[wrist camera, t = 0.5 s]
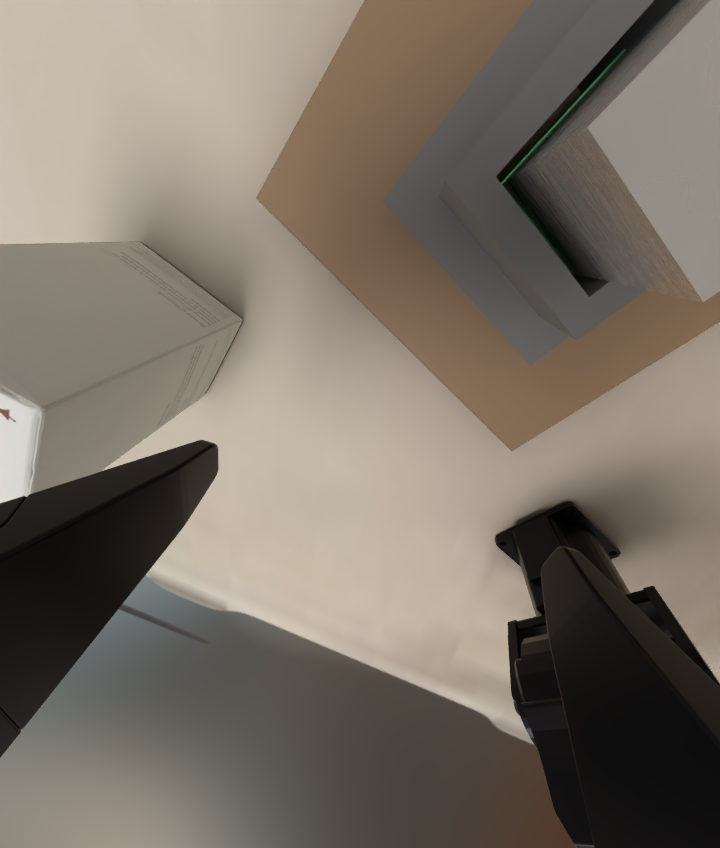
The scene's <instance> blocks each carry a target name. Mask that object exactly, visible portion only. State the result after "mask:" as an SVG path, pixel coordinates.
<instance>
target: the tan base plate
mask: <svg viewBox="0 0 720 848" xmlns="http://www.w3.org/2000/svg"><path fill="white" fill-rule="evenodd" d="M678 1H680V0H365V1H364V3H363V4H362V6H361V8H360V10H359V12H358V14H357V15H356V17H355V19H354V21H353V23H352V24H351V26H350V28H349V30H348V32H347V34H346V35H345V37H344V39H343V41H342V43H341V45H340V46H339V48H338V50H337V52H336V54H335V55H334V57H333V59H332V61H331V63H330V65H329V66H328V68H327V70H326V72H325V74H324V75H323V77H322V79H321V81H320V83H319V85H318V86H317V88H316V90H315V92H314V94H313V96H312V97H311V99H310V101H309V103H308V105H307V106H306V108H305V110H304V112H303V114H302V116H301V117H300V119H299V121H298V123H297V125H296V126H295V128H294V130H293V132H292V134H291V136H290V137H289V139H288V141H287V143H286V145H285V147H284V148H283V150H282V152H281V154H280V156H279V157H278V159H277V161H276V163H275V165H274V167H273V168H272V170H271V172H270V174H269V176H268V177H267V179H266V181H265V183H264V185H263V187H262V188H261V190H260V192H259V194H258V196H257V197H256V199H257V200H258V201H259V202H260V203H261V204H262V205H263V206H264V207H265V208H266V209H267V210H268V211H269V212H270V213H271V214H272V215H273V216H274V217H276V218H277V219H278V220H279V221H280V222H281V223H282V224H283V225H284V226H285V227H286V228H287V229H288V230H289V231H290V232H291V233H292V234H293V235H294V236H295V237H296V238H297V239H298V240H299V241H300V242H301V243H302V244H303V245H304V246H305V247H306V248H307V249H308V250H309V251H310V252H311V253H312V254H313V255H314V256H315V257H316V258H317V259H318V260H319V261H320V262H321V263H322V264H323V265H324V266H325V267H326V268H327V269H328V270H329V271H330V272H331V273H332V274H333V275H334V276H335V277H336V278H337V279H338V280H339V281H340V282H341V283H342V284H343V285H344V286H345V287H346V288H347V289H348V290H349V291H350V292H351V293H352V294H353V295H354V296H355V297H356V298H357V299H358V300H359V301H360V302H361V303H362V304H363V305H364V306H365V307H366V308H367V309H368V310H369V311H370V312H371V313H372V314H374V315H375V316H376V317H377V318H378V319H379V320H380V321H381V322H382V323H383V324H384V325H385V326H386V327H387V328H388V329H389V330H390V331H391V332H392V333H393V334H394V335H395V336H396V337H397V338H398V339H399V340H400V341H401V342H402V343H403V344H404V345H405V346H406V347H407V348H408V349H409V350H410V351H411V352H412V353H413V354H414V355H415V356H416V357H417V358H418V359H419V360H420V361H421V362H422V363H423V364H424V365H425V366H426V367H427V368H428V369H429V370H430V371H431V372H432V373H433V374H434V375H435V376H436V377H437V378H438V379H439V380H440V381H441V382H442V383H443V384H444V385H445V386H446V387H447V388H448V389H449V390H450V391H451V392H452V393H453V394H454V395H455V396H456V397H457V398H458V399H459V400H460V401H461V402H462V403H463V404H464V405H465V406H466V407H467V408H468V409H469V410H471V411H472V412H473V413H474V414H475V415H476V416H477V417H478V418H479V419H480V420H481V421H482V422H483V423H484V424H485V425H486V426H487V427H488V428H489V429H490V430H491V431H492V432H493V433H494V434H495V435H496V436H497V437H498V438H499V439H500V440H501V441H502V442H503V443H504V444H505V445H506V446H507V447H508V448H509V449H510V450H511V451H513V450H514V449H516V448H518V447H519V446H521V445H522V444H524V443H526V442H527V441H529V440H530V439H532V438H534V437H535V436H537V435H538V434H540V433H542V432H543V431H545V430H546V429H548V428H550V427H551V426H553V425H554V424H556V423H558V422H559V421H561V420H562V419H564V418H566V417H567V416H569V415H570V414H572V413H574V412H575V411H577V410H579V409H580V408H582V407H583V406H585V405H587V404H588V403H590V402H591V401H593V400H595V399H596V398H598V397H599V396H601V395H603V394H604V393H606V392H607V391H609V390H611V389H612V388H614V387H615V386H617V385H619V384H620V383H622V382H623V381H625V380H627V379H628V378H630V377H631V376H633V375H635V374H636V373H638V372H639V371H641V370H643V369H644V368H646V367H648V366H649V365H651V364H652V363H654V362H656V361H657V360H659V359H660V358H662V357H664V356H665V355H667V354H668V353H670V352H672V351H673V350H675V349H676V348H678V347H680V346H681V345H683V344H684V343H686V342H688V341H689V340H691V339H692V338H694V337H696V336H697V335H699V334H700V333H702V332H704V331H705V330H707V329H708V328H710V327H712V326H713V325H715V324H717V323H718V322H720V291H719V292H718V293H716V294H715V295H713V296H712V297H710V298H709V299H707V300H706V301H704V302H700V301H696V300H691V299H687V298H682V297H678V296H673V295H669V294H664V293H659V292H655V291H650V290H646V289H641V288H637V287H632V286H628V285H623V284H619V283H614V282H609V281H605V280H600V279H596V278H591V277H587V276H582V275H578V274H573V273H570V272H569V270H568V269H567V268H566V267H565V265H564V264H563V263H562V261H561V260H560V259H559V258H558V256H557V255H556V254H555V252H554V251H553V250H552V249H551V247H550V246H549V245H548V243H547V242H546V241H545V240H544V238H543V237H542V236H541V234H540V233H539V232H538V231H537V229H536V228H535V227H534V225H533V224H532V223H531V221H530V220H529V219H528V218H527V216H526V215H525V214H524V212H523V211H522V210H521V209H520V207H519V206H518V205H517V203H516V202H515V201H514V200H513V198H512V197H511V196H510V194H509V193H508V192H507V191H506V189H505V188H504V187H503V185H502V184H501V183H500V182H499V179H500V178H501V177H502V176H503V175H504V174H505V173H506V171H507V170H508V169H509V168H510V167H511V166H512V165H513V164H514V163H515V162H516V160H517V159H518V158H519V157H520V156H521V155H522V154H523V153H524V152H525V151H526V149H527V148H528V147H529V146H530V145H531V144H532V143H533V142H534V141H535V140H536V138H537V137H538V136H539V135H540V134H541V133H542V132H543V131H544V130H545V129H546V127H547V126H548V125H549V124H550V123H551V122H552V121H553V120H554V119H555V118H556V116H557V115H558V114H559V113H560V112H561V111H562V110H563V109H564V108H565V107H566V105H567V104H568V103H569V102H570V101H571V100H572V99H573V98H574V97H575V96H576V95H577V94H578V93H579V92H580V91H582V90H583V89H584V88H585V87H586V86H587V85H588V84H589V83H590V82H591V81H592V80H593V79H594V78H595V77H596V76H597V75H598V74H599V73H600V72H601V71H602V69H603V68H604V67H605V66H606V65H607V64H608V63H609V62H610V61H611V60H612V59H614V58H615V57H616V56H617V55H618V54H619V53H620V52H621V51H622V50H623V49H624V48H625V49H627V48H628V47H629V46H631V45H632V44H633V43H634V42H635V41H636V40H637V39H638V38H639V37H640V36H641V35H643V34H644V33H645V32H646V31H647V30H648V29H649V28H650V27H651V26H652V25H653V24H655V23H656V22H657V21H658V20H659V19H660V18H661V17H662V16H663V15H664V14H665V13H666V12H668V11H669V10H670V9H671V8H672V7H673V6H674V5H675V4H676V3H677V2H678Z"/></svg>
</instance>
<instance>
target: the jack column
mask: <svg viewBox="0 0 720 848" xmlns="http://www.w3.org/2000/svg"><path fill="white" fill-rule="evenodd" d="M499 182H500V183H501V184H502V185H503V187H504V188H505V189H506V191H507V192H508V193H509V194H510V196H511V197H512V198H513V200H514V201H515V202H516V203H517V205H518V206H519V207H520V209H521V210H522V211H523V212H524V214H525V215H526V216H527V218H528V219H529V220H530V221H531V223H532V224H533V225H534V227H535V228H536V229H537V231H538V232H539V233H540V234H541V236H542V237H543V238H544V240H545V241H546V242H547V243H548V245H549V246H550V247H551V249H552V250H553V251H554V252H555V254H556V255H557V256H558V258H559V259H560V260H561V261H562V263H563V264H564V265H565V267H566V268H567V269H568V270H569V272H570V273H573V274H578V275H582V276H587V277H591V278H596V279H600V280H605V281H609V282H614V283H619V284H623V285H628V286H632V287H637V288H641V289H646V290H650V291H655V292H659V293H664V294H669V295H673V296H678V297H682V298H687V299H691V300H696V301H700V302H704V301H706V300H707V299H709V298H710V297H712V296H713V295H715V294H716V293H718V292H719V291H720V0H680V1H678V2H677V3H676V4H675V5H674V6H673V7H672V8H671V9H670V10H669V11H668V12H666V13H665V14H664V15H663V16H662V17H661V18H660V19H659V20H658V21H657V22H656V23H655V24H653V25H652V26H651V27H650V28H649V29H648V30H647V31H646V32H645V33H644V34H643V35H641V36H640V37H639V38H638V39H637V40H636V41H635V42H634V43H633V44H632V45H631V46H629V47H628V48H627V49H625V48H624V49H623V50H622V51H621V52H620V53H619V54H618V55H617V56H616V57H615V58H614V59H612V60H611V61H610V62H609V63H608V64H607V65H606V66H605V67H604V68H603V69H602V71H601V72H600V73H599V74H598V75H597V76H596V77H595V78H594V79H593V80H592V81H591V82H590V83H589V84H588V85H587V86H586V87H585V88H584V89H583V90H582V91H580V92H579V93H578V94H577V95H576V96H575V97H574V98H573V99H572V100H571V101H570V102H569V103H568V104H567V105H566V107H565V108H564V109H563V110H562V111H561V112H560V113H559V114H558V115H557V116H556V118H555V119H554V120H553V121H552V122H551V123H550V124H549V125H548V126H547V127H546V129H545V130H544V131H543V132H542V133H541V134H540V135H539V136H538V137H537V138H536V140H535V141H534V142H533V143H532V144H531V145H530V146H529V147H528V148H527V149H526V151H525V152H524V153H523V154H522V155H521V156H520V157H519V158H518V159H517V160H516V162H515V163H514V164H513V165H512V166H511V167H510V168H509V169H508V170H507V171H506V173H505V174H504V175H503V176H502V177H501V178H500V179H499Z"/></svg>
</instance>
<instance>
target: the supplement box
mask: <svg viewBox="0 0 720 848" xmlns="http://www.w3.org/2000/svg"><path fill="white" fill-rule="evenodd" d="M241 324H242V319H241V318H240V317H239V316H237V315H236V314H235V313H233V312H232V311H231V310H230V309H228V308H227V307H226V306H224V305H223V304H222V303H221V302H219V301H218V300H216V299H215V298H214V297H212V296H211V295H210V294H209V293H207V292H206V291H205V290H203V289H202V288H201V287H199V286H198V285H197V284H195V283H194V282H193V281H192V280H190V279H189V278H188V277H186V276H185V275H184V274H182V273H181V272H180V271H178V270H177V269H176V268H174V267H173V266H172V265H171V264H169V263H168V262H166V261H165V260H164V259H162V258H161V257H160V256H159V255H157V254H156V253H155V252H153V251H152V250H150V249H149V248H148V247H146V246H145V245H143V244H142V243H140V242H90V243H46V244H0V503H3V502H6V501H9V500H12V499H16V498H19V497H22V496H26V497H27V496H28V495H29V494H32V493H35V492H38V491H41V490H44V489H47V488H50V487H54V486H57V485H60V484H63V483H66V482H69V481H73V480H76V479H79V478H82V477H85V476H88V475H92V474H95V473H98V472H100V471H102V470H103V469H104V468H106V467H107V466H108V465H110V464H111V463H112V462H114V461H115V460H117V459H118V458H119V457H121V456H122V455H123V454H125V453H126V452H127V451H129V450H130V449H131V448H133V447H134V446H136V445H137V444H138V443H140V442H141V441H142V440H144V439H145V438H146V437H148V436H149V435H151V434H152V433H153V432H155V431H156V430H157V429H159V428H160V427H162V426H163V425H164V424H166V423H167V422H168V421H170V420H171V419H172V418H174V417H175V416H176V415H178V414H179V413H181V412H182V411H184V410H185V409H186V408H188V407H189V406H191V405H192V404H193V403H195V402H196V401H198V400H199V399H200V398H202V397H203V396H204V395H205V393H206V391H207V389H208V387H209V386H210V384H211V382H212V380H213V378H214V376H215V374H216V372H217V370H218V368H219V366H220V364H221V362H222V361H223V359H224V357H225V355H226V353H227V351H228V349H229V347H230V345H231V343H232V341H233V339H234V337H235V335H236V333H237V331H238V329H239V327H240V325H241Z"/></svg>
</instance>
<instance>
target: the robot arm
mask: <svg viewBox="0 0 720 848" xmlns="http://www.w3.org/2000/svg"><path fill="white" fill-rule="evenodd" d="M217 472H218V447H217V445H216V444H214V443H211V442H208V441H204V440H199V441H196V442H193V443H189V444H186V445H183V446H180V447H177V448H174V449H170V450H167V451H164V452H161V453H158V454H155V455H152V456H148V457H145V458H142V459H139V460H136V461H133V462H129V463H126V464H123V465H120V466H117V467H114V468H111V469H107V470H104V471H101V472H98V473H95V474H92V475H88V476H85V477H82V478H79V479H76V480H73V481H69V482H66V483H63V484H60V485H57V486H54V487H50V488H47V489H44V490H41V491H38V492H35V493H32V494H29V495H28V496H27V497H26V496H22V497H19V498H16V499H12V500H9V501H6V502H3V503H0V757H1V756H2V755H3V754H4V752H5V751H6V750H7V749H8V747H9V746H10V745H11V744H12V742H13V741H14V740H15V739H16V737H17V736H18V735H19V734H20V732H21V729H22V728H24V727H25V726H26V724H27V723H28V722H29V720H30V719H31V718H32V717H33V716H34V714H35V713H36V712H37V711H38V709H39V708H40V707H41V705H42V704H43V703H44V702H45V700H46V699H47V698H48V697H49V695H50V694H51V693H52V692H53V690H54V689H55V688H56V687H57V685H58V684H59V683H60V682H61V680H62V679H63V678H64V677H65V675H66V674H67V673H68V671H69V670H70V669H71V668H72V667H73V665H74V664H75V663H76V661H77V660H78V659H79V657H80V656H81V655H82V654H83V653H84V651H85V650H86V649H87V648H88V646H89V645H90V644H91V643H92V641H93V640H94V639H95V638H96V636H97V635H98V634H99V633H100V631H101V630H102V629H103V628H104V626H105V625H106V624H107V623H108V621H109V620H110V619H111V617H112V616H113V615H114V614H115V612H116V611H117V610H118V609H119V607H120V606H121V605H122V604H123V602H124V601H125V600H126V598H127V597H128V596H129V595H130V594H131V592H132V591H133V590H134V589H135V587H136V586H137V585H138V584H139V582H140V581H141V580H142V578H143V577H144V576H145V575H146V573H147V572H148V571H149V570H150V568H151V567H152V566H153V565H154V563H155V562H156V561H157V560H158V558H159V557H160V556H161V555H162V553H163V552H164V551H165V550H166V548H167V547H168V546H169V545H170V543H171V542H172V541H173V540H174V538H175V537H176V536H177V535H178V533H179V532H180V531H181V529H182V528H183V527H184V525H185V524H186V522H187V521H188V519H189V518H190V516H191V515H192V513H193V512H194V510H195V509H196V507H197V505H198V504H199V502H200V501H201V499H202V498H203V496H204V494H205V493H206V491H207V490H208V488H209V487H210V485H211V483H212V482H213V480H214V479H215V477H216V475H217ZM568 509H570V510H568ZM502 541H503V542H502ZM495 542H496V545H497V546H498V547H499V548H500V549H501V550H502V551H503V552H505V553H506V554H507V555H508V556H509V557H510V558H511V559H513V560H514V561H515V562H516V563H517V564H518V565H520V566H521V569H522V572H523V575H524V578H525V581H526V585H527V588H528V591H529V594H530V597H531V601H532V604H533V607H534V610H535V614H536V617H533V618H529V619H525V620H521V621H516V620H514V621H510V622H508V645H509V662H510V678H511V693H512V697H513V699H514V706H515V709H516V712H517V713H518V714H519V715H520V717H521V719H522V721H523V724H524V726H525V728H526V730H527V732H528V734H529V736H530V738H531V740H532V741H533V743H534V744H535V746H536V747H537V748H538V751H539V754H540V757H541V761H542V764H543V768H544V772H545V775H546V779H547V783H548V787H549V791H550V795H551V798H552V802H553V806H554V809H555V812H556V814H557V816H558V817H559V819H560V821H561V822H562V824H563V826H564V827H565V829H566V831H567V832H568V834H569V836H570V837H571V839H572V841H573V842H574V843H575V845H576V846H577V847H578V848H720V683H719V681H718V680H717V678H716V677H715V675H714V674H713V672H712V671H711V669H710V668H709V666H708V665H707V663H706V662H705V660H704V659H703V658H702V656H701V655H700V653H699V652H698V650H697V649H696V647H695V646H694V644H693V643H692V641H691V640H690V638H689V637H688V635H687V634H686V632H685V631H684V630H683V628H682V627H681V625H680V624H679V622H678V621H677V619H676V618H675V616H674V615H673V614H672V612H671V611H670V609H669V608H668V606H667V605H666V603H665V602H664V600H663V599H662V598H661V596H660V595H659V593H658V592H657V590H656V589H655V587H654V586H650V587H646V588H643V589H644V590H642V591H638V592H634V593H630V591H629V590H628V588H627V586H626V585H625V583H624V581H623V580H622V578H621V576H620V575H619V573H618V571H617V570H616V568H615V566H614V565H613V563H612V561H611V560H610V559H613V558H615V557H618V556H619V555H620V553H621V552H620V550H619V549H618V547H617V546H616V545H615V544H614V543H613V542H612V541H611V540H610V539H609V538H608V537H607V536H606V535H605V534H604V533H603V532H602V531H601V530H600V529H599V528H598V527H597V526H596V525H595V524H594V523H593V522H592V521H591V520H590V519H589V518H588V517H587V516H586V515H585V514H584V513H583V512H582V511H581V510H580V509H579V508H578V507H577V506H576V505H575V504H574V503H571V502H566V503H564V504H562V505H560V506H558V507H555V508H553V509H551V510H549V511H547V512H545V513H543V514H541V515H539V516H537V517H535V518H533V519H531V520H529V521H527V522H525V523H523V524H521V525H519V526H517V527H515V528H513V529H511V530H509V531H507V532H505V533H503V534H501V535H499V536H497V537H496V538H495Z"/></svg>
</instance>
